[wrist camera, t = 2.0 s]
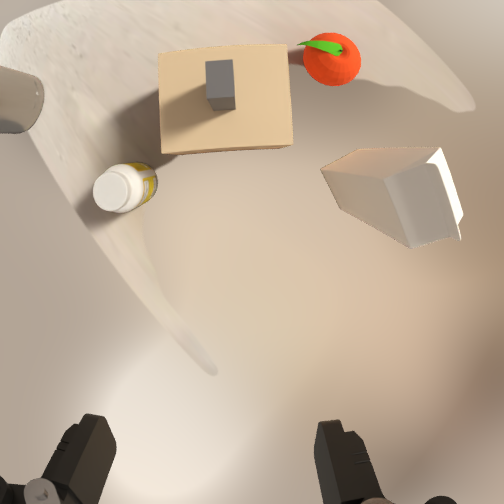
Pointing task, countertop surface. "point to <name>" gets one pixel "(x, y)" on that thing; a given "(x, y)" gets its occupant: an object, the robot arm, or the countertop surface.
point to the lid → (224, 97)
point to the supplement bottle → (125, 187)
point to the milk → (398, 192)
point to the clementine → (331, 59)
